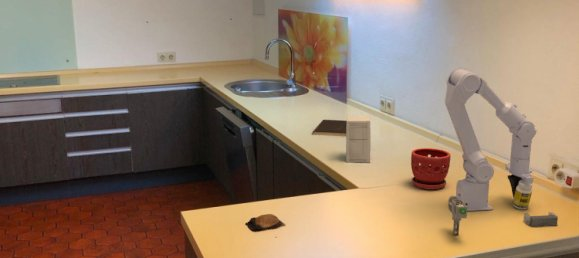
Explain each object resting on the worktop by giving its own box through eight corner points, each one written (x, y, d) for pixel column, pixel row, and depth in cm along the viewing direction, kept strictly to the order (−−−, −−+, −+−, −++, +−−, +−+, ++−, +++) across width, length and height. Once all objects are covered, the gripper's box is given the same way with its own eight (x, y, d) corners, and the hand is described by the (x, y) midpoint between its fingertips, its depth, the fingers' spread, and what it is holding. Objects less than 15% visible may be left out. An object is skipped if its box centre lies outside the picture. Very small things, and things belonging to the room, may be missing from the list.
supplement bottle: (517, 210, 193) (523, 187, 189) (509, 202, 197) (514, 179, 193) (531, 208, 194) (537, 185, 190) (522, 200, 198) (527, 177, 194)
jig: (530, 227, 180) (531, 219, 180) (523, 221, 184) (524, 213, 184) (558, 225, 181) (559, 217, 181) (551, 219, 185) (551, 211, 185)
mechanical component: (455, 227, 181) (457, 194, 178) (466, 242, 171) (468, 207, 168) (445, 227, 181) (447, 194, 178) (455, 242, 171) (458, 208, 168)
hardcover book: (354, 125, 301) (354, 121, 300) (347, 137, 279) (347, 132, 279) (322, 124, 305) (322, 119, 304) (312, 135, 283) (312, 130, 283)
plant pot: (449, 192, 208) (451, 158, 205) (409, 190, 211) (411, 156, 208) (448, 180, 221) (449, 147, 218) (410, 178, 223) (411, 146, 220)
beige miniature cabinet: (369, 156, 250) (370, 115, 246) (370, 163, 241) (371, 120, 237) (345, 155, 251) (346, 115, 247) (345, 162, 242) (346, 120, 238)
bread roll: (275, 218, 190) (274, 207, 189) (287, 228, 183) (287, 216, 182) (242, 224, 185) (242, 213, 184) (254, 235, 178) (254, 223, 177)
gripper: (544, 163, 188) (540, 205, 191) (521, 149, 202) (518, 189, 205) (521, 164, 187) (518, 206, 190) (500, 150, 201) (497, 190, 204)
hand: (516, 197), depth 198 cm, fingers closed
